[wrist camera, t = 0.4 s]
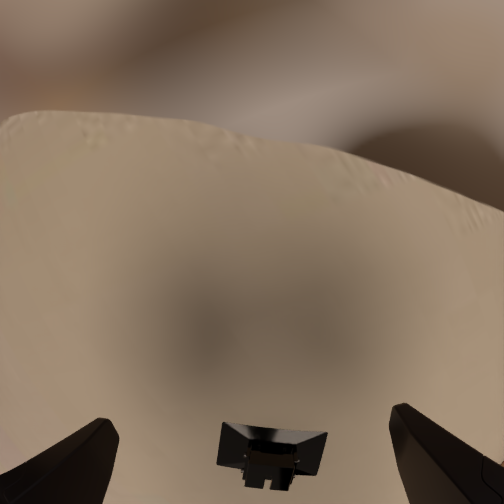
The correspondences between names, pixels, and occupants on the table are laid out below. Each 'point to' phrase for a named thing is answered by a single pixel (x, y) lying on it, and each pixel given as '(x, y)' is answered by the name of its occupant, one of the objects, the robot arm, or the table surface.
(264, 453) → the black barn door light
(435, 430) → the robot arm
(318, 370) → the table surface
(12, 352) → the table surface
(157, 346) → the table surface
